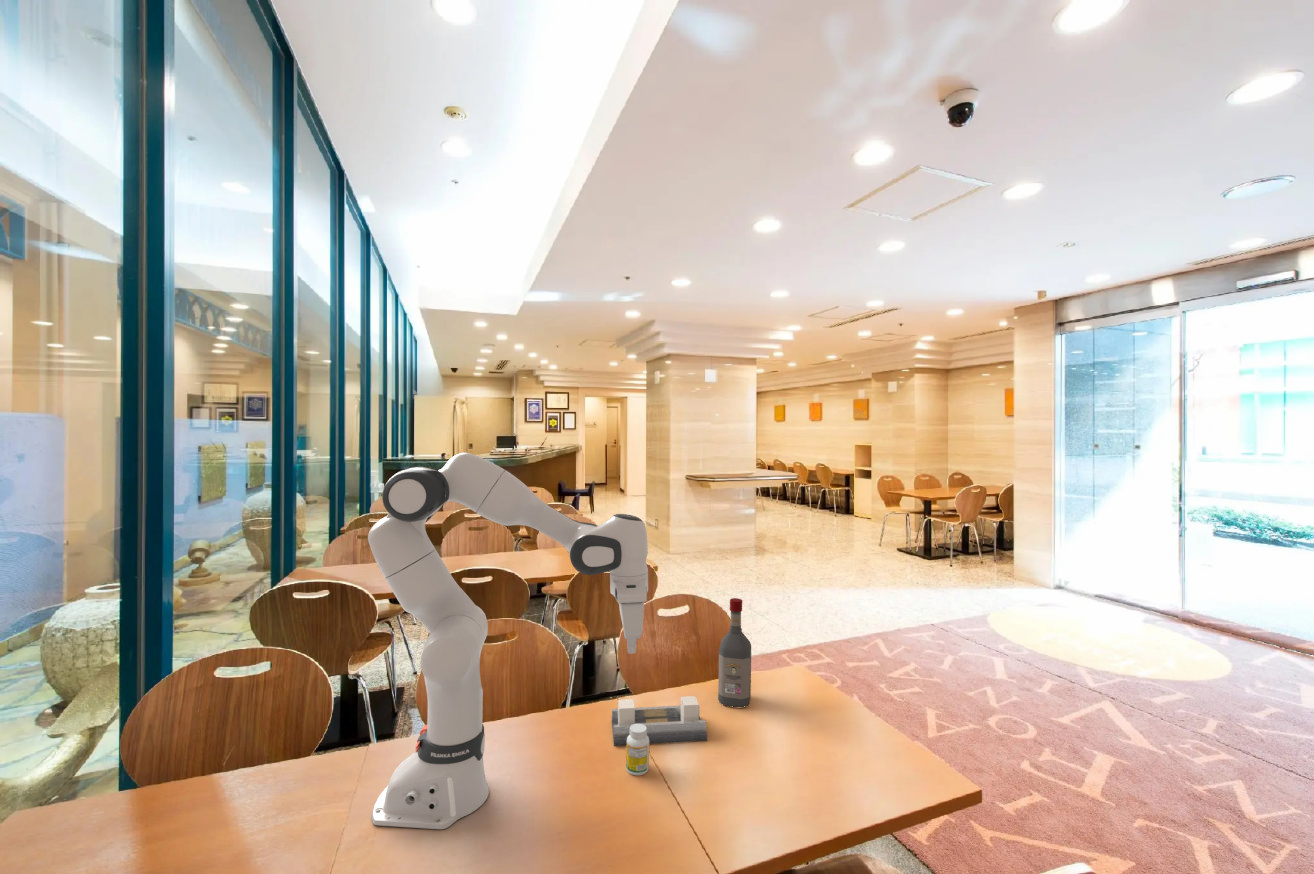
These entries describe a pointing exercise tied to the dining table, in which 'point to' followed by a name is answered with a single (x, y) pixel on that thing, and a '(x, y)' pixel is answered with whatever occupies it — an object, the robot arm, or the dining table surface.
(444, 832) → the dining table surface
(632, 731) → the supplement bottle
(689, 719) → the rail posts
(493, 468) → the robot arm
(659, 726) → the rail
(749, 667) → the liquor
